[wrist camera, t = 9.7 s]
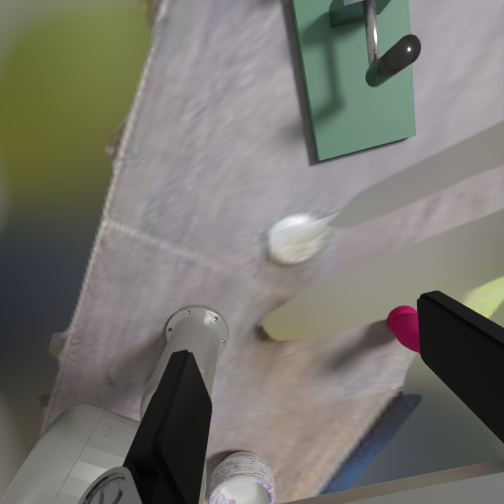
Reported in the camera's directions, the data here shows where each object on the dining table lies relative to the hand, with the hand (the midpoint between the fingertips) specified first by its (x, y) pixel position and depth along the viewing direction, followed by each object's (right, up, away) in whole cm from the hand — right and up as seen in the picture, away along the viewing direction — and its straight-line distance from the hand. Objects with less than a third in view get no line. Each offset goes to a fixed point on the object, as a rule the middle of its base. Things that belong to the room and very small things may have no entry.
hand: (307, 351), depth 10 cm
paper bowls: (-5, -50, +53) cm, 73 cm away
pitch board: (+14, +33, +28) cm, 46 cm away
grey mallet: (+13, +34, +26) cm, 45 cm away
